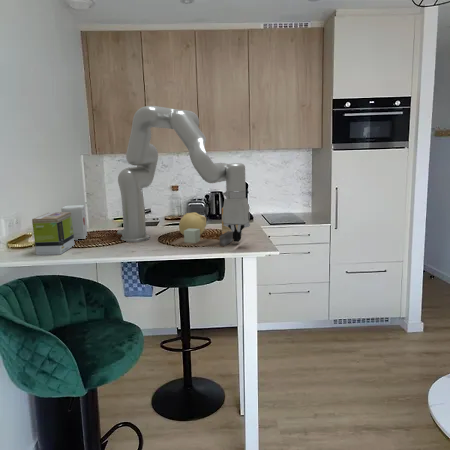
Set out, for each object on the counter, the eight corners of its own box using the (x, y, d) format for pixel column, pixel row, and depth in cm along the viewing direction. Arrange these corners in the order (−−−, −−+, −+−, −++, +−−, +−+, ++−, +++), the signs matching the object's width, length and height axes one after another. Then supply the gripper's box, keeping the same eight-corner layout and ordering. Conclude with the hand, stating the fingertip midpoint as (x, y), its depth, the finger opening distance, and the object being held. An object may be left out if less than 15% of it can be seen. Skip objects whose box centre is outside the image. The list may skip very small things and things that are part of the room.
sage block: (184, 242, 175) (183, 230, 174) (189, 239, 180) (188, 228, 179) (195, 243, 174) (195, 231, 173) (200, 240, 178) (199, 228, 177)
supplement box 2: (221, 236, 190) (220, 207, 188) (225, 234, 195) (224, 206, 192) (239, 237, 187) (238, 208, 185) (242, 235, 192) (242, 206, 189)
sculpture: (210, 234, 197) (209, 211, 195) (196, 239, 186) (195, 215, 184) (189, 232, 202) (188, 210, 200) (174, 237, 192) (173, 213, 190)
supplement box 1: (84, 240, 191) (81, 207, 188) (63, 241, 189) (60, 208, 187) (87, 236, 199) (85, 204, 197) (67, 237, 198) (64, 205, 195)
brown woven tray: (168, 246, 174) (167, 234, 173) (181, 239, 185) (180, 228, 184) (223, 249, 166) (223, 236, 165) (233, 242, 177) (233, 230, 176)
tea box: (52, 246, 180) (48, 211, 177) (75, 246, 180) (72, 211, 177) (35, 255, 165) (31, 218, 163) (60, 255, 165) (57, 217, 162)
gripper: (214, 196, 166) (216, 242, 169) (251, 196, 161) (252, 244, 164) (221, 193, 173) (222, 238, 176) (257, 194, 168) (257, 240, 171)
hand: (237, 240), depth 170 cm, fingers closed
